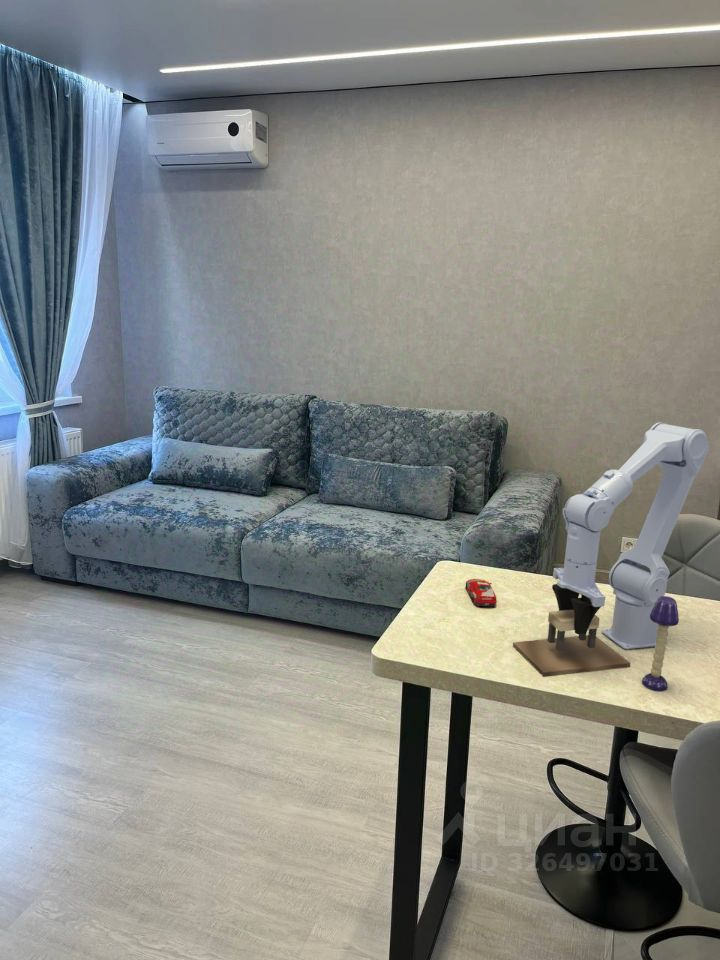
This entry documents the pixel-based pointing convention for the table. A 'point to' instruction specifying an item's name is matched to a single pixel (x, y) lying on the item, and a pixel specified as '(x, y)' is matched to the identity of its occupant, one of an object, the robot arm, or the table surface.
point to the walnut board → (569, 656)
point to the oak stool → (568, 628)
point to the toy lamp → (661, 640)
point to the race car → (481, 592)
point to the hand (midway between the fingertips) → (573, 627)
